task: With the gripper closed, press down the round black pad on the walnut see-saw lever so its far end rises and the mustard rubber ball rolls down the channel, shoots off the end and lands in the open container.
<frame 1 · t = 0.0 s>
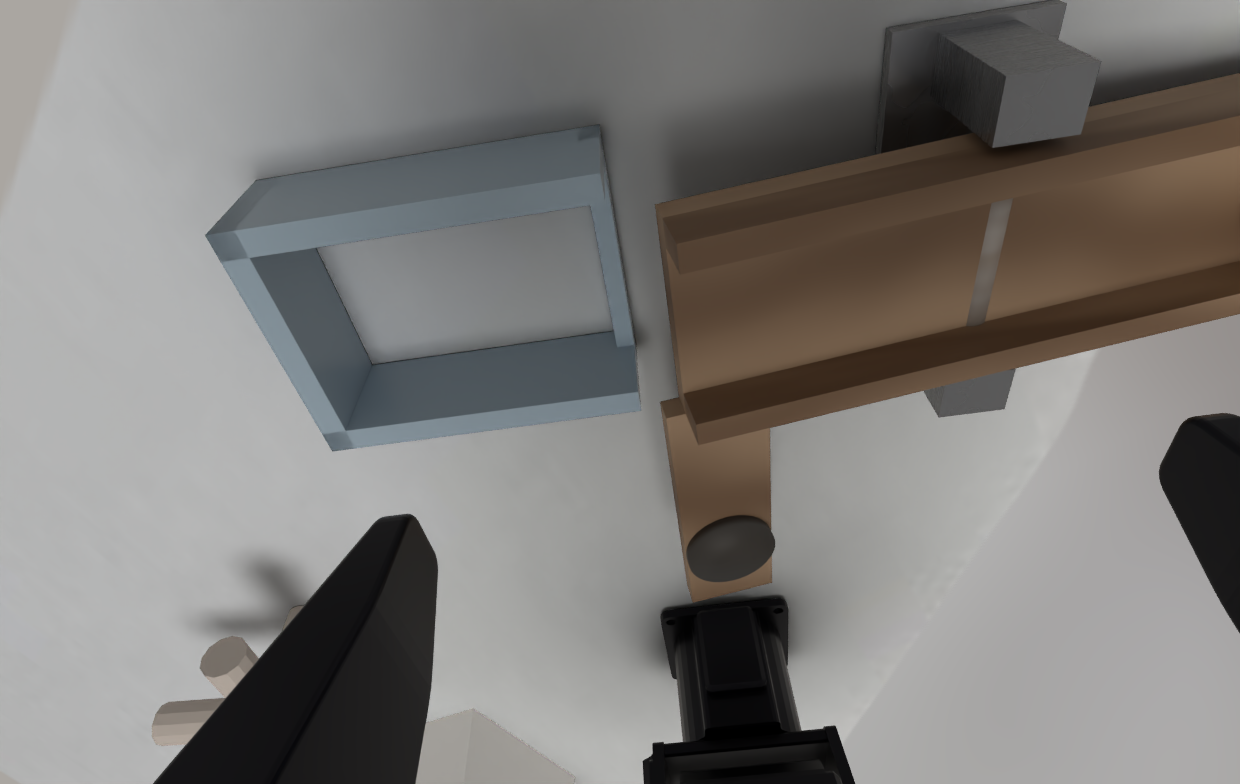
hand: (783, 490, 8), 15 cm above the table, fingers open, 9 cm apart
wooden jack toy: (309, 612, 35), on the table
lever: (1002, 388, 22), point 4 cm above the table, hinge at 9.0°, touching ball
open container: (464, 271, 23), on the table
milk: (457, 761, 47), on the table
stand: (941, 200, 22), on the table
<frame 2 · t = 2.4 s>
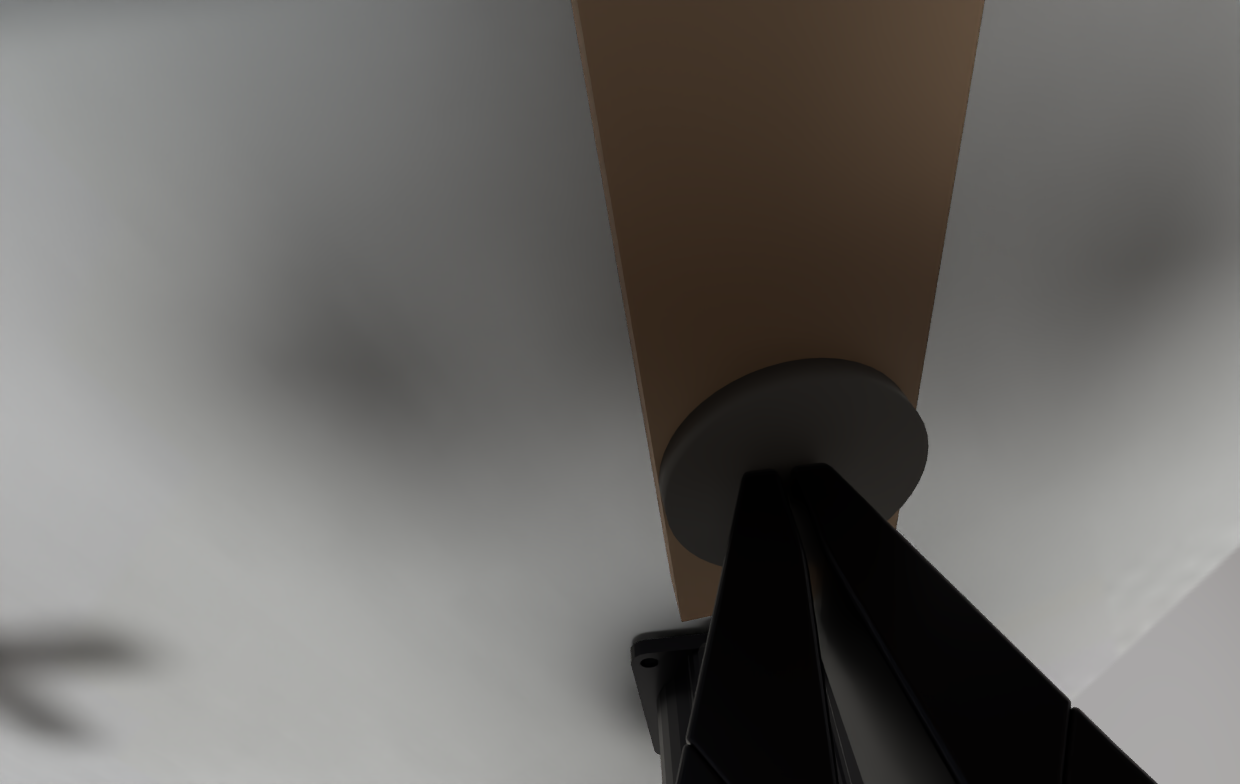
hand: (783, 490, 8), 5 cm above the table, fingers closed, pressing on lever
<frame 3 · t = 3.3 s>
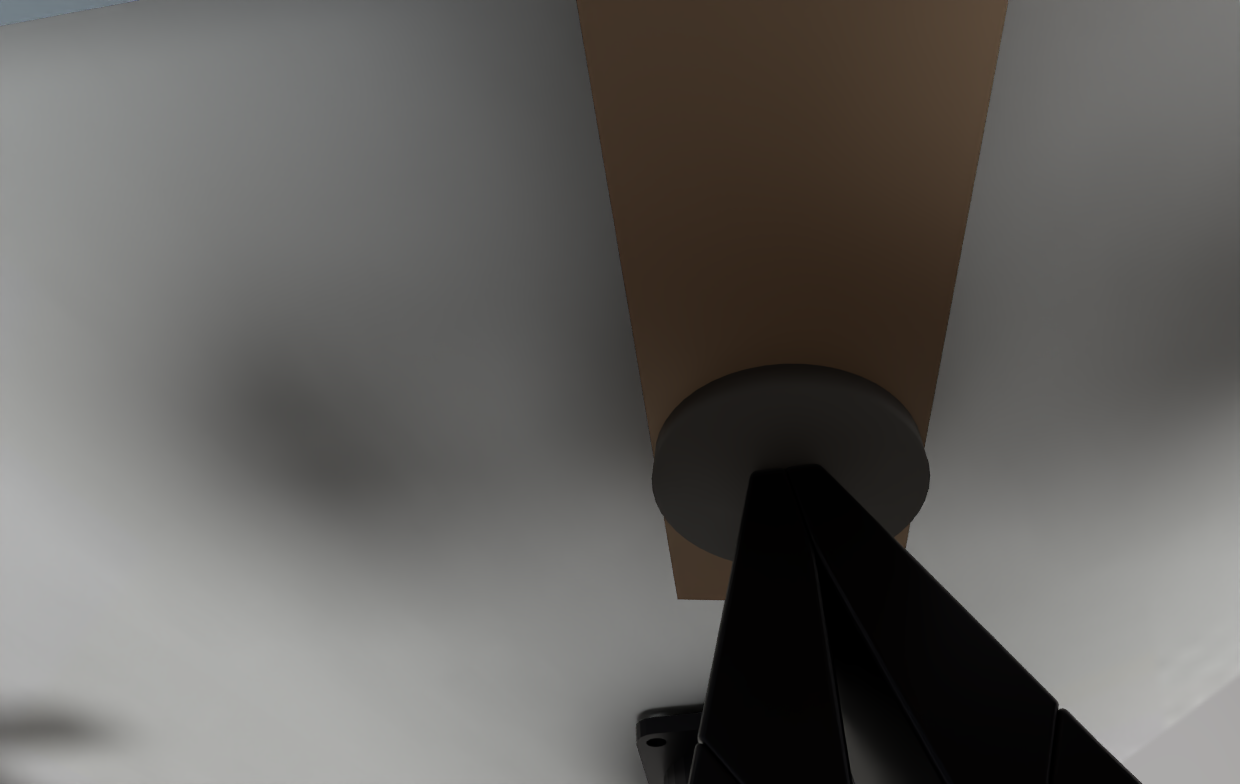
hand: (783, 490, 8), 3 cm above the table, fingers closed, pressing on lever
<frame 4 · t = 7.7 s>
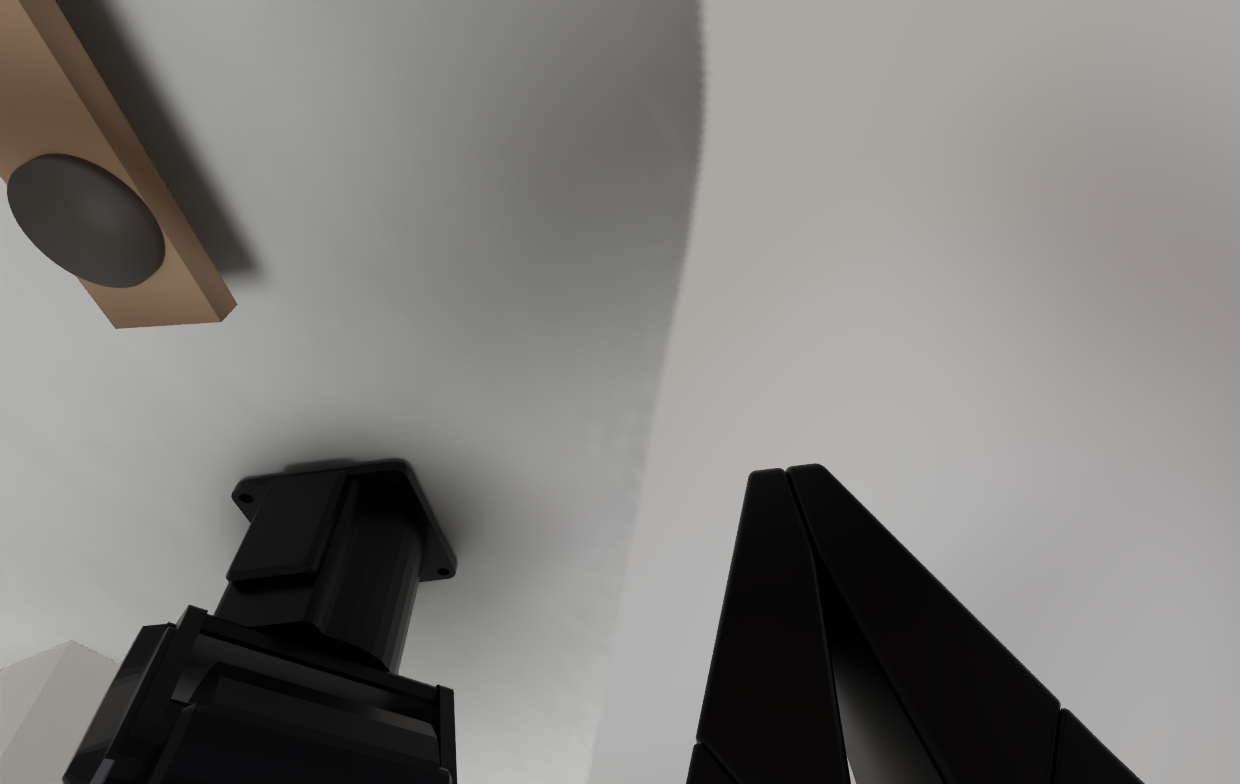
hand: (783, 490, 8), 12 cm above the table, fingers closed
milk: (108, 718, 37), on the table
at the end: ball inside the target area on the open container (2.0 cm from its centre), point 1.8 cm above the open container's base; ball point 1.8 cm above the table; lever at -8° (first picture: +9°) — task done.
